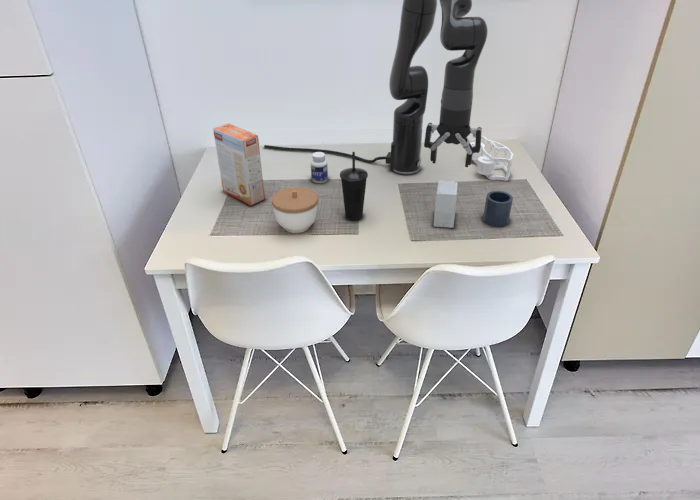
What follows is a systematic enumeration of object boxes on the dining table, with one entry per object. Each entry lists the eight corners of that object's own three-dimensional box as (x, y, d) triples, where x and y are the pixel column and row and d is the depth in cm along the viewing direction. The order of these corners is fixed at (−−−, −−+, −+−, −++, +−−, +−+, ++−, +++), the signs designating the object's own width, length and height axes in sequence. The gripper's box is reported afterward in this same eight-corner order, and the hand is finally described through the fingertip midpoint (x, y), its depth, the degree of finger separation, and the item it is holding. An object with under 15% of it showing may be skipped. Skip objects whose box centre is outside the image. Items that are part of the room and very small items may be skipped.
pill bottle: (308, 181, 171) (307, 156, 165) (315, 174, 174) (314, 149, 169) (323, 184, 169) (322, 159, 164) (330, 177, 173) (329, 152, 168)
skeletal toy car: (462, 155, 185) (464, 135, 181) (493, 153, 186) (496, 134, 182) (480, 182, 169) (483, 161, 165) (514, 180, 170) (518, 159, 166)
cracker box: (266, 199, 162) (259, 134, 150) (250, 206, 158) (241, 140, 146) (238, 184, 169) (228, 121, 157) (222, 191, 166) (211, 127, 154)
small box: (453, 228, 147) (457, 195, 141) (432, 226, 148) (436, 193, 142) (454, 214, 153) (458, 181, 147) (435, 212, 154) (438, 179, 148)
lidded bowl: (301, 243, 142) (299, 207, 136) (265, 230, 147) (260, 195, 141) (328, 221, 151) (327, 187, 144) (292, 210, 156) (289, 176, 150)
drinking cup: (371, 213, 154) (372, 149, 143) (360, 226, 149) (360, 160, 137) (347, 207, 157) (346, 144, 145) (336, 220, 151) (334, 155, 140)
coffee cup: (481, 224, 149) (485, 201, 144) (484, 212, 154) (487, 189, 150) (507, 228, 147) (512, 204, 143) (509, 215, 152) (513, 192, 148)
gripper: (487, 101, 133) (479, 161, 142) (430, 96, 136) (425, 155, 145) (484, 111, 127) (476, 173, 136) (425, 106, 130) (421, 167, 139)
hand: (450, 164), depth 141 cm, fingers open, 8 cm apart
